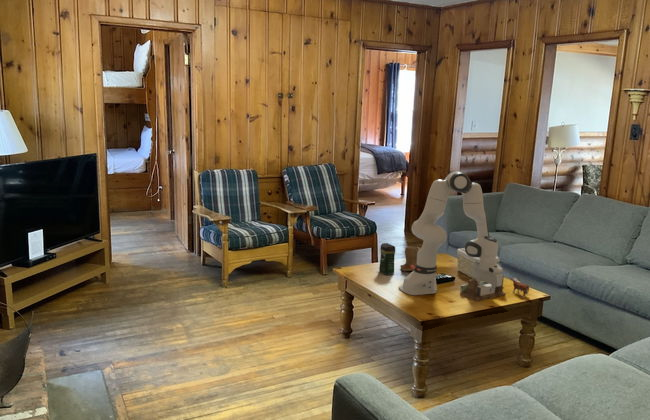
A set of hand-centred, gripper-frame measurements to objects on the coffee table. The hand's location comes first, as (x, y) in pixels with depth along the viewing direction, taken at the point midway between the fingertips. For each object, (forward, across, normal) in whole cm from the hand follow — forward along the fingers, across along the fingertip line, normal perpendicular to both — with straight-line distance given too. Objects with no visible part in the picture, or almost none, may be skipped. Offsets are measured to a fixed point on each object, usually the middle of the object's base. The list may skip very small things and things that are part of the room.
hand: (485, 289), depth 306 cm
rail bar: (+3, 0, 0) cm, 3 cm away
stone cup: (+4, -54, -10) cm, 56 cm away
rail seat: (+4, -2, 0) cm, 4 cm away
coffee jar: (+4, -56, -28) cm, 62 cm away
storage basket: (+4, -28, +22) cm, 36 cm away
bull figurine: (+4, +6, +20) cm, 21 cm away
